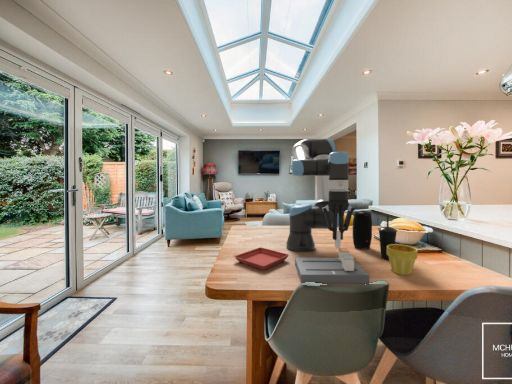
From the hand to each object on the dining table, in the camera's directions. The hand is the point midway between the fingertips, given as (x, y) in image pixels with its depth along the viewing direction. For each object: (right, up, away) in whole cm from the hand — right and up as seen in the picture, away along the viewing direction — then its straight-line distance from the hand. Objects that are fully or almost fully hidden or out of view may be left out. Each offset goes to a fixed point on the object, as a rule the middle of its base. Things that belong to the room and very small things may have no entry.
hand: (337, 247), depth 97 cm
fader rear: (+2, -5, 0) cm, 6 cm away
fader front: (+1, -6, -9) cm, 11 cm away
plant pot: (+24, -9, -4) cm, 26 cm away
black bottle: (+27, -8, +11) cm, 30 cm away
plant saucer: (-31, -9, +10) cm, 34 cm away
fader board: (-5, -9, -4) cm, 11 cm away
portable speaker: (+23, -7, +28) cm, 37 cm away
